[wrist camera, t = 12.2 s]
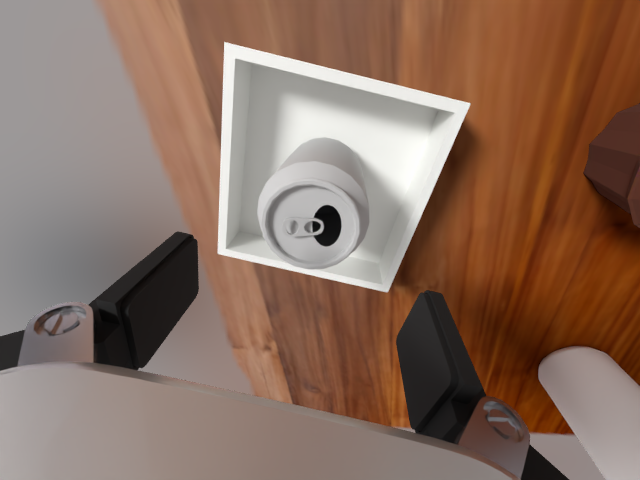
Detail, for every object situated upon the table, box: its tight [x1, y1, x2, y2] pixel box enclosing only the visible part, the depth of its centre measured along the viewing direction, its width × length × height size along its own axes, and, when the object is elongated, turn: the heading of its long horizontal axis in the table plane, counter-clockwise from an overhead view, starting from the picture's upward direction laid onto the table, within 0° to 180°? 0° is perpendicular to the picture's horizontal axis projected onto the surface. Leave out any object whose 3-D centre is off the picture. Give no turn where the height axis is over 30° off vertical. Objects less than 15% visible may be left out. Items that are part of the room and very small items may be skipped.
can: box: [257, 137, 370, 269], centre depth 22 cm, size 8×8×12 cm
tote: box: [218, 42, 471, 292], centre depth 26 cm, size 18×18×5 cm
